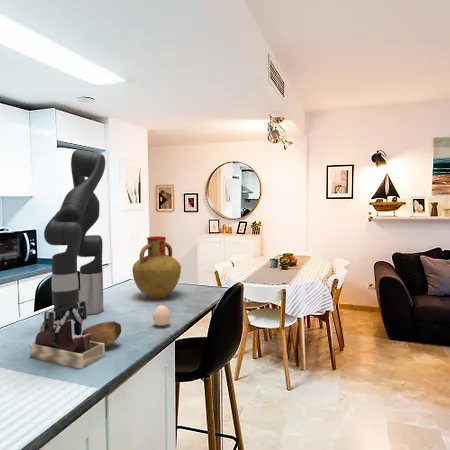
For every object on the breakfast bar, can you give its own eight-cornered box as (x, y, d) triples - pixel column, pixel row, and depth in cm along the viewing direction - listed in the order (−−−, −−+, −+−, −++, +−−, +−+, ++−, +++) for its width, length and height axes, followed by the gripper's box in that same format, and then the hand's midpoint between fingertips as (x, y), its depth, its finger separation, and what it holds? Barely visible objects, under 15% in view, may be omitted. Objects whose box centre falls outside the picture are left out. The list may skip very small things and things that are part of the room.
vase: (157, 289, 202) (157, 234, 200) (191, 295, 188) (190, 236, 186) (122, 298, 183) (121, 237, 181) (156, 306, 169) (155, 240, 167)
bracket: (81, 355, 108) (79, 320, 109) (35, 358, 113) (33, 325, 114) (95, 350, 114) (92, 317, 115) (50, 354, 119) (48, 322, 120)
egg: (153, 329, 138) (153, 308, 138) (152, 323, 145) (151, 303, 144) (171, 327, 140) (171, 307, 139) (169, 322, 146) (169, 302, 146)
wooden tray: (30, 357, 114) (29, 344, 114) (55, 346, 123) (55, 334, 122) (81, 369, 106) (81, 355, 105) (104, 356, 114) (104, 343, 114)
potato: (85, 357, 121) (88, 336, 128) (125, 347, 122) (126, 327, 128) (75, 344, 117) (79, 323, 123) (116, 334, 117) (118, 313, 123)
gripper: (74, 281, 121) (75, 330, 122) (36, 291, 108) (38, 346, 109) (91, 283, 118) (93, 333, 119) (55, 294, 105) (57, 350, 106)
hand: (67, 339), depth 114 cm, fingers open, 8 cm apart
